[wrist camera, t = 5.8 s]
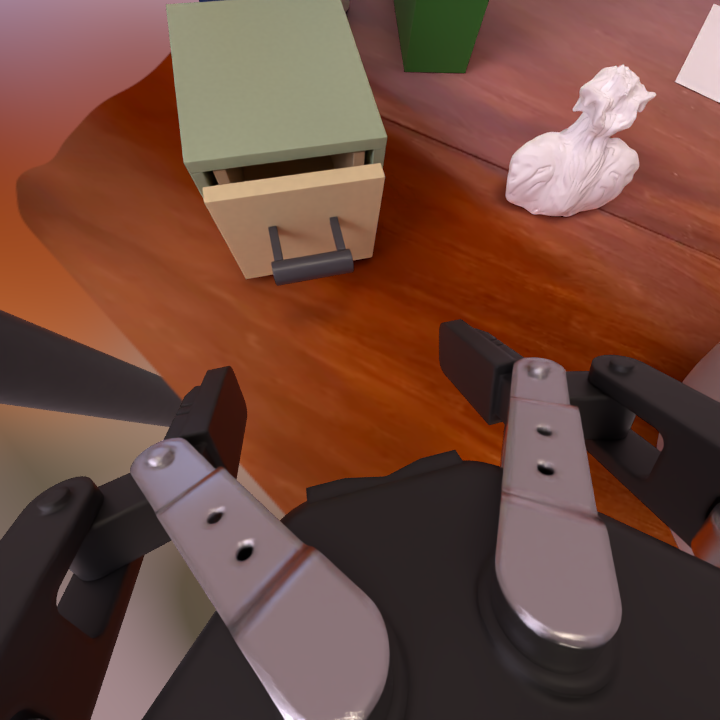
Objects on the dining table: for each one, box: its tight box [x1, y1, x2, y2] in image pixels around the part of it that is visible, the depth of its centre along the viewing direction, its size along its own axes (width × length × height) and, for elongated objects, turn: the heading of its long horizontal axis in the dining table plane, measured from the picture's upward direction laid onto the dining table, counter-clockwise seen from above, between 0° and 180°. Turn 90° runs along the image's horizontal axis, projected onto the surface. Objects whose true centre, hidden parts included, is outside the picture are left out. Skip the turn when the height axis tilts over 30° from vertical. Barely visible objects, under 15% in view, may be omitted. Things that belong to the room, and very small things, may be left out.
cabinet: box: [166, 0, 387, 199], centre depth 26 cm, size 15×13×11 cm
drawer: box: [202, 151, 385, 285], centre depth 25 cm, size 18×11×9 cm, turn 14°
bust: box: [505, 64, 656, 217], centre depth 29 cm, size 12×8×11 cm
